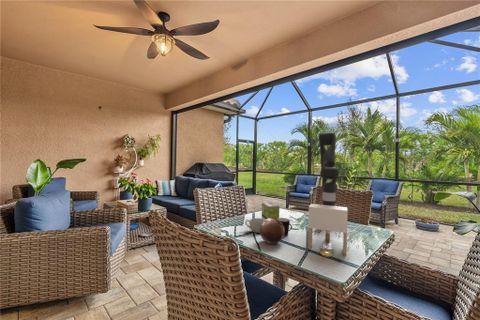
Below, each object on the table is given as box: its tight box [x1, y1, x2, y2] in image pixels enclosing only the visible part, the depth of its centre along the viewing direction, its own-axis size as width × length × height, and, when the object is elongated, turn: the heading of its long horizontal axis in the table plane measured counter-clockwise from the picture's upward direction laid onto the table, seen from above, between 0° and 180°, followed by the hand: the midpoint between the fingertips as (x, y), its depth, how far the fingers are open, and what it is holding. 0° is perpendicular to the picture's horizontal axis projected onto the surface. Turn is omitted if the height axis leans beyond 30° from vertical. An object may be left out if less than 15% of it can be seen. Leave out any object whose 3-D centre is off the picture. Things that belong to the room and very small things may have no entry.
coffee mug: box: [278, 217, 293, 237], centre depth 153 cm, size 12×9×10 cm
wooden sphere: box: [259, 218, 285, 245], centre depth 138 cm, size 15×15×15 cm
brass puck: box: [319, 250, 333, 258], centre depth 123 cm, size 6×6×2 cm
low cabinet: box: [307, 203, 348, 256], centre depth 131 cm, size 10×20×24 cm, turn 67°
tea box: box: [261, 201, 280, 220], centre depth 184 cm, size 15×10×15 cm
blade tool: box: [319, 230, 334, 254], centre depth 136 cm, size 22×7×6 cm, turn 157°
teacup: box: [244, 217, 264, 234], centre depth 160 cm, size 14×11×8 cm
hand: (328, 225), depth 141 cm, fingers open, 8 cm apart
